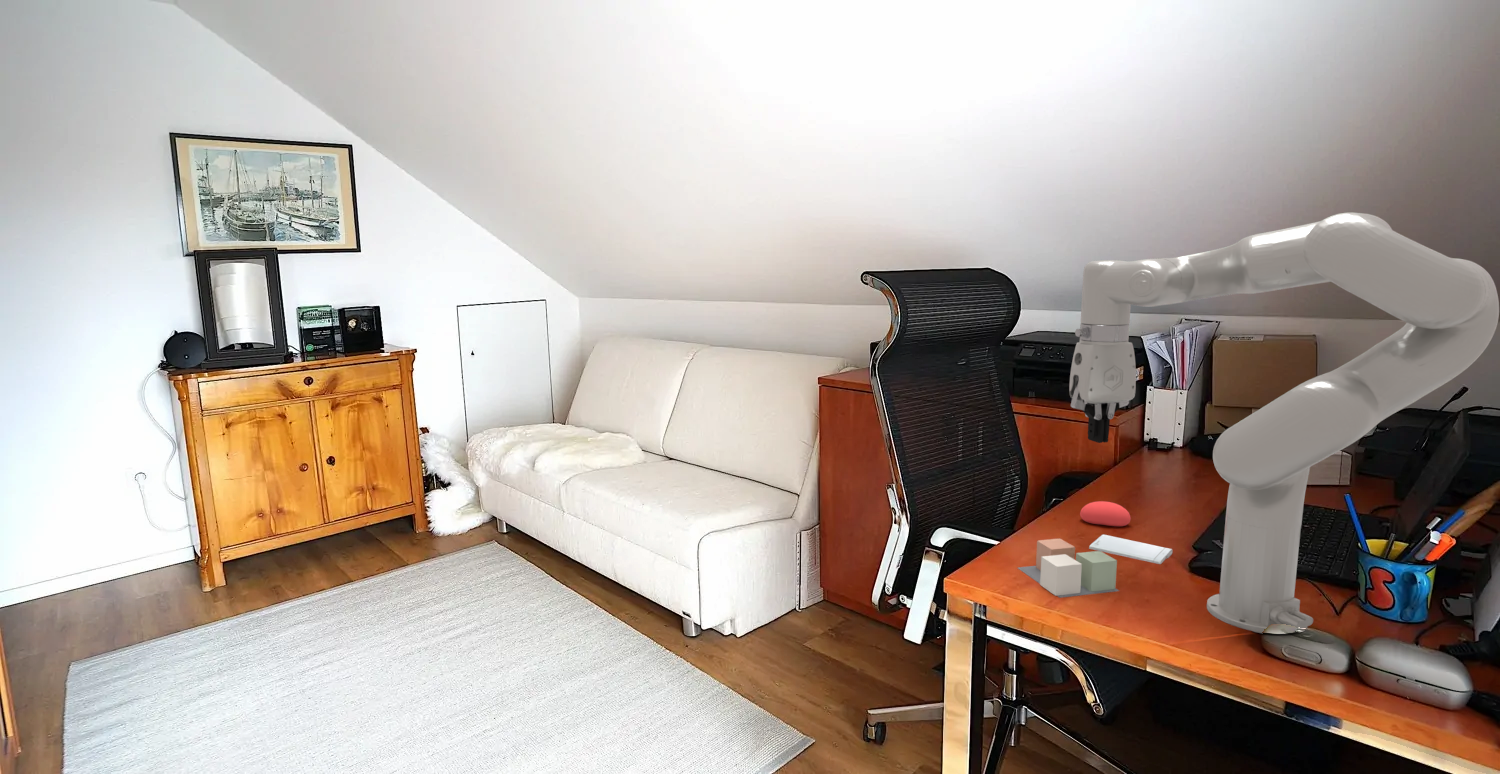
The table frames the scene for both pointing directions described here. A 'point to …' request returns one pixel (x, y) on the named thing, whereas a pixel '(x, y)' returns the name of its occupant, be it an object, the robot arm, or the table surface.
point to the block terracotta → (1053, 549)
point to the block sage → (1097, 571)
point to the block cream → (1060, 574)
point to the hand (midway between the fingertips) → (1097, 440)
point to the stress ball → (1105, 514)
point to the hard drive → (1131, 549)
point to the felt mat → (1036, 575)
